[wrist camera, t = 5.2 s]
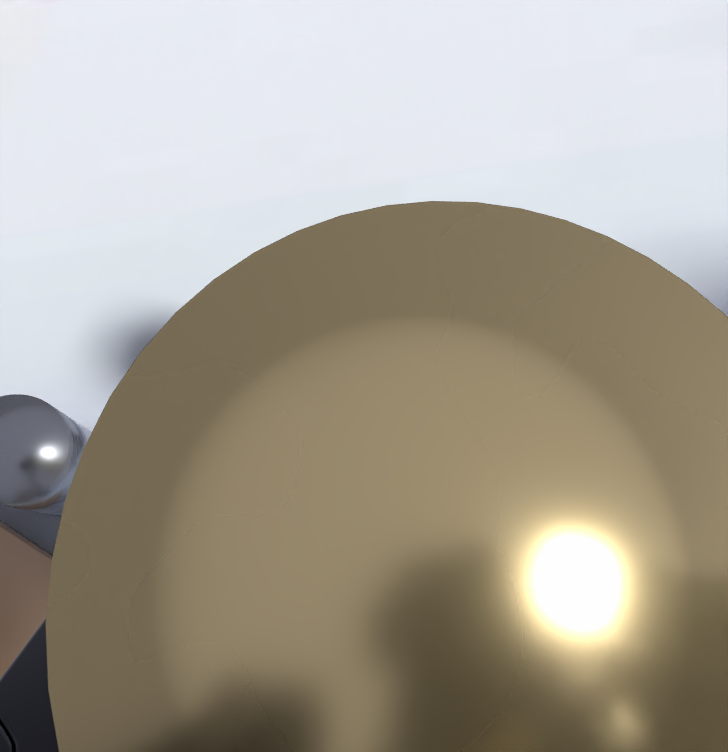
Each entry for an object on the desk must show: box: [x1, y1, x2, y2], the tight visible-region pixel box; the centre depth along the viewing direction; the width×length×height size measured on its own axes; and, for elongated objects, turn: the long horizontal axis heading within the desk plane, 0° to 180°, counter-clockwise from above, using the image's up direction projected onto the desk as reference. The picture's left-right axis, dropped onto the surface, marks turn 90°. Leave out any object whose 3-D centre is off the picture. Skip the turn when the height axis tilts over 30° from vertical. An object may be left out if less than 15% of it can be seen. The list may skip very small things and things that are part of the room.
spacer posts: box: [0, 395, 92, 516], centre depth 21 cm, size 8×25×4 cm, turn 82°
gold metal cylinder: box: [46, 201, 728, 752], centre depth 10 cm, size 5×5×12 cm
